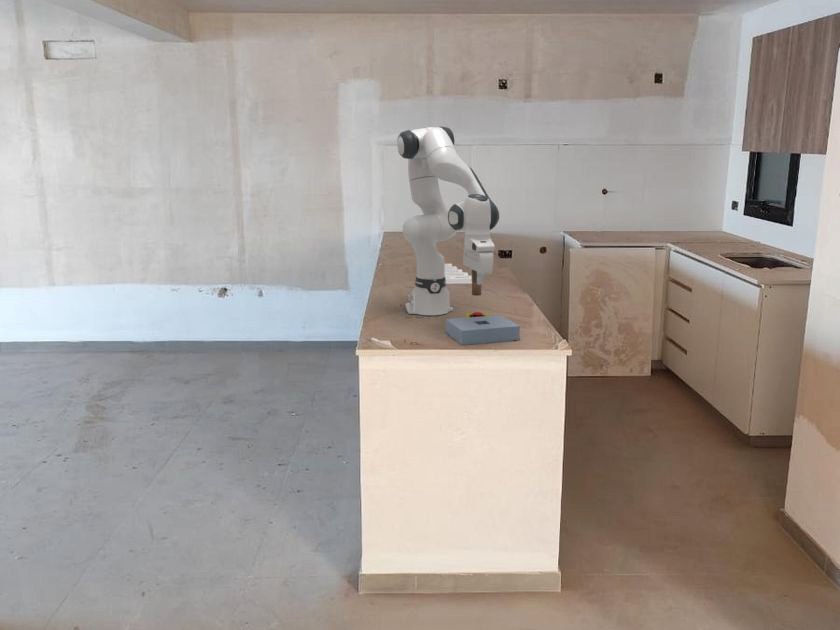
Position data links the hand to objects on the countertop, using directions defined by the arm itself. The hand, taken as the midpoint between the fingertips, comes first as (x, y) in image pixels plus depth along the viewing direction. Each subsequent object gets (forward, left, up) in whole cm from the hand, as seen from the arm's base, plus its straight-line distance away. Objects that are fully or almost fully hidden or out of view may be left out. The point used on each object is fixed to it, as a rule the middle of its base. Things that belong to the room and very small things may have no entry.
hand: (476, 283), depth 254 cm
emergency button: (-17, +7, -20) cm, 27 cm away
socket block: (0, +2, -19) cm, 19 cm away
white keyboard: (-116, +32, -20) cm, 122 cm away
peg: (0, 0, -4) cm, 4 cm away
